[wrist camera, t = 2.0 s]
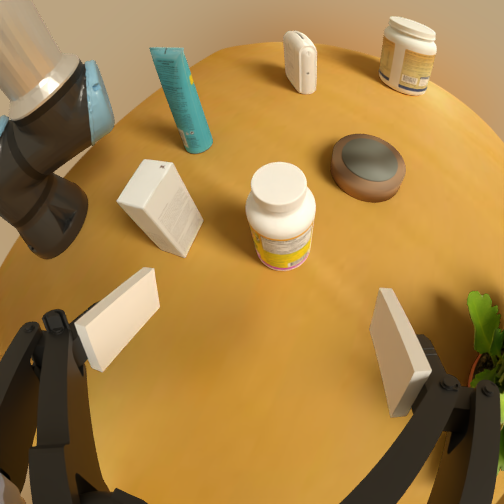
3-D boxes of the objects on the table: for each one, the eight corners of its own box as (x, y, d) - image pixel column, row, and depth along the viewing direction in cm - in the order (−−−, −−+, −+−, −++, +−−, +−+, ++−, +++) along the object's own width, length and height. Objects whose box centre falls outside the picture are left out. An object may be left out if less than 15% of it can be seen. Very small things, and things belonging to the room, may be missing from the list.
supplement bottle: (262, 220, 36) (249, 149, 24) (313, 228, 34) (321, 157, 23) (250, 268, 33) (229, 208, 22) (305, 277, 32) (313, 220, 20)
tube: (224, 140, 43) (196, 39, 26) (207, 159, 42) (170, 55, 25) (191, 131, 46) (158, 41, 29) (174, 148, 44) (133, 57, 27)
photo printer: (319, 93, 47) (320, 41, 36) (298, 96, 47) (297, 42, 36) (301, 72, 52) (299, 26, 40) (283, 74, 52) (279, 27, 41)
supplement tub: (431, 89, 47) (446, 34, 31) (415, 103, 44) (432, 38, 29) (390, 67, 51) (398, 13, 36) (368, 78, 49) (376, 16, 34)
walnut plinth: (316, 160, 39) (317, 144, 36) (369, 140, 40) (373, 126, 37) (360, 214, 35) (365, 199, 32) (413, 186, 35) (420, 173, 32)
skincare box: (179, 214, 38) (144, 157, 27) (204, 220, 37) (174, 161, 26) (159, 251, 36) (114, 201, 25) (185, 260, 35) (144, 209, 24)
